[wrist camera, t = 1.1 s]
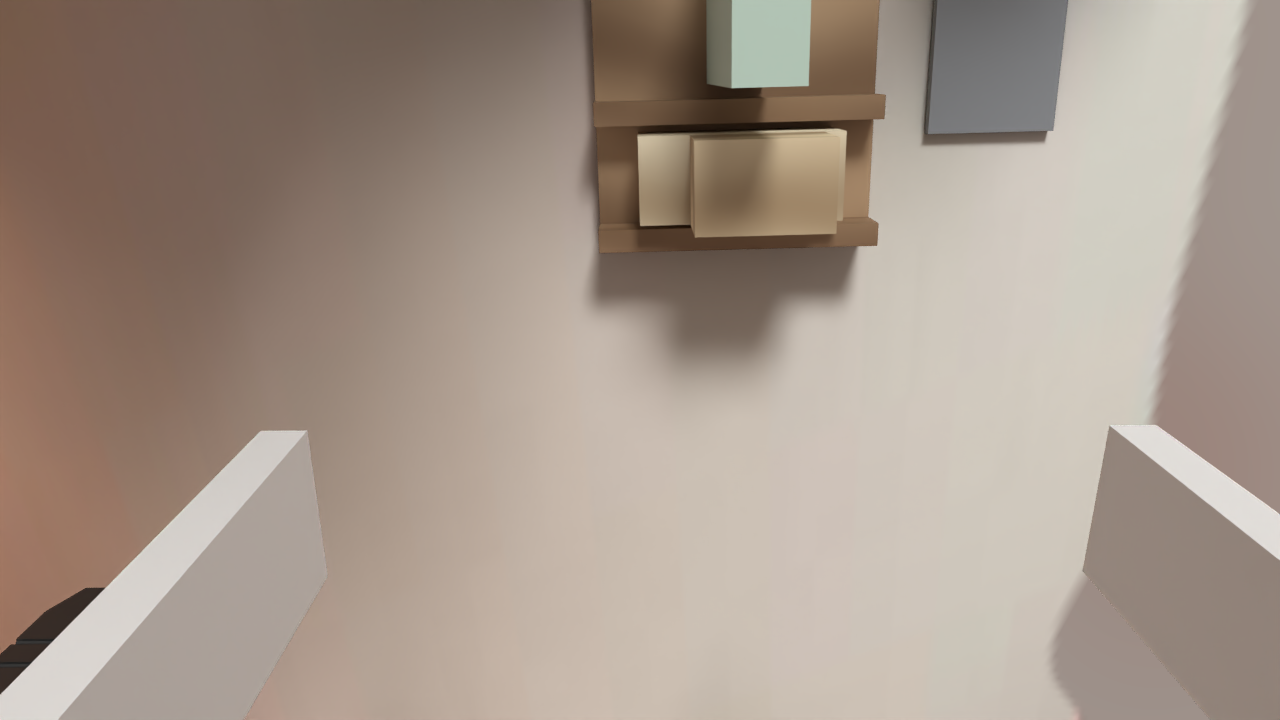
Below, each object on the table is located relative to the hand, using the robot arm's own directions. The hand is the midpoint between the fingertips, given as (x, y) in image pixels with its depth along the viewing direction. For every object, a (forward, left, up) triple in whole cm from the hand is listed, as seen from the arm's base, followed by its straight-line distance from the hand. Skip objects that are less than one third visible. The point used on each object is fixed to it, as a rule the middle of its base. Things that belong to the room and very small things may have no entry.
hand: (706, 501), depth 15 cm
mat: (-9, +12, -21) cm, 26 cm away
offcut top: (-3, +3, -17) cm, 18 cm away
